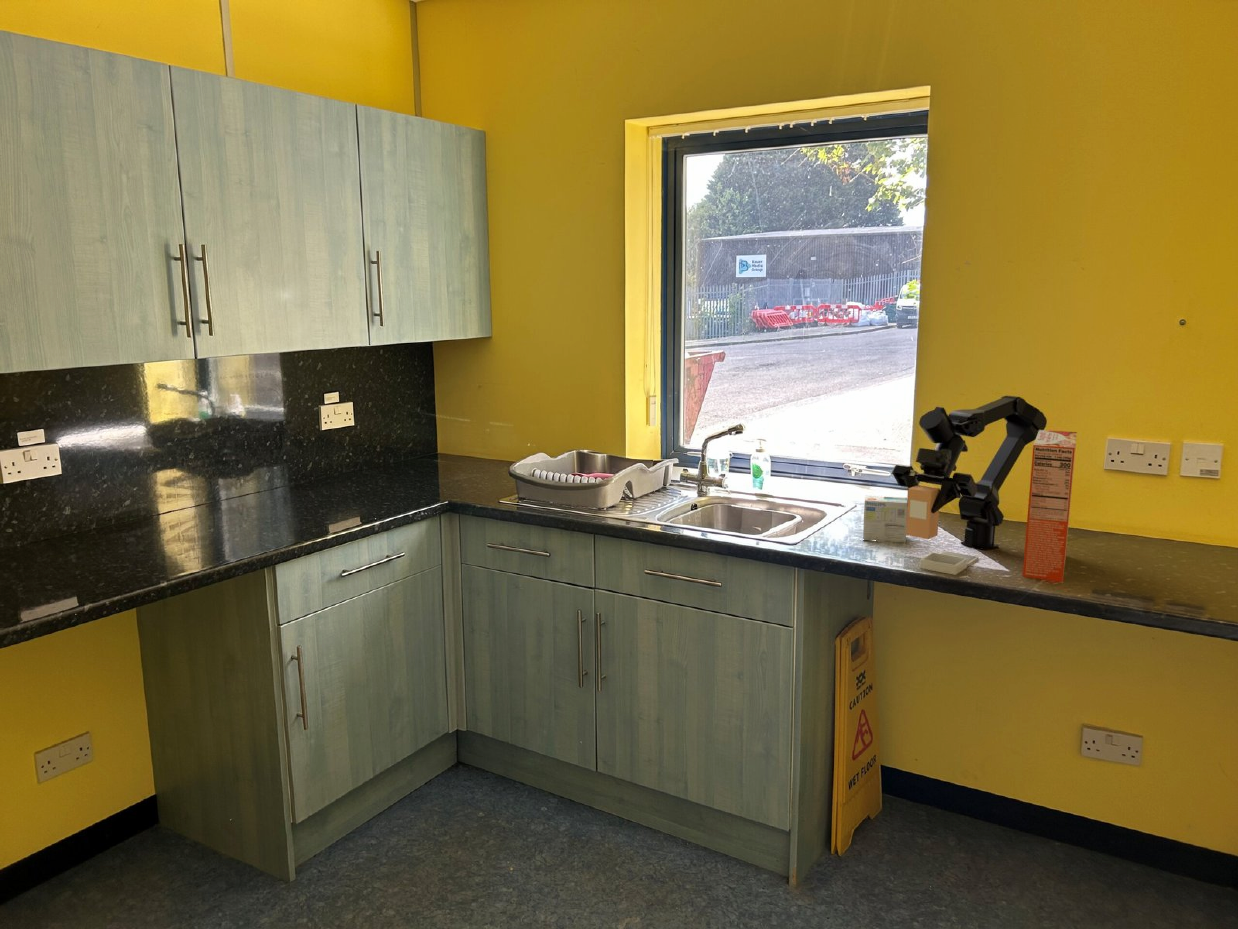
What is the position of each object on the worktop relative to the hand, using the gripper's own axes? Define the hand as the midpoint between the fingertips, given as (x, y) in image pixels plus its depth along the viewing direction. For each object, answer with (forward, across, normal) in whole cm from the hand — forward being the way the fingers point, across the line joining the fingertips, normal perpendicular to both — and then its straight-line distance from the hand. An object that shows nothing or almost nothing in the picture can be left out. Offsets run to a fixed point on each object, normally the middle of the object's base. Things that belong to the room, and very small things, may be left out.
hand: (920, 510), depth 211 cm
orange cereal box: (-5, +21, +24) cm, 33 cm away
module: (+3, 0, +5) cm, 6 cm away
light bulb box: (-2, -17, +21) cm, 27 cm away
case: (+8, +5, +11) cm, 15 cm away
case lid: (+2, +4, +17) cm, 18 cm away
